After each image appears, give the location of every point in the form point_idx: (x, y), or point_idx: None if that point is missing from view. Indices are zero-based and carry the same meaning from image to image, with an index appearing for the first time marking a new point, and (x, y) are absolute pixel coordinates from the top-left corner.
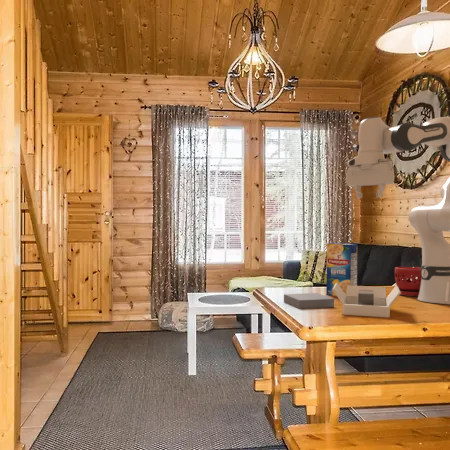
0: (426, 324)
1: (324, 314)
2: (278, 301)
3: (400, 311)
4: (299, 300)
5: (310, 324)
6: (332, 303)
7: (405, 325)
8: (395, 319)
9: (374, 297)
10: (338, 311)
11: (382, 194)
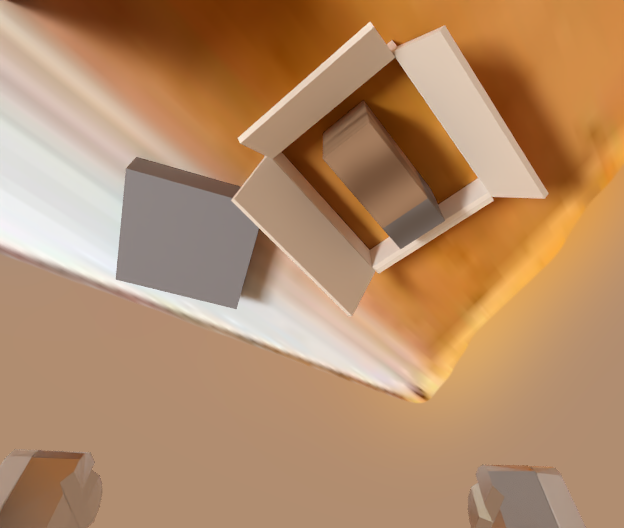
0: (612, 169)
1: None
2: (109, 271)
3: None
4: (236, 307)
5: (400, 378)
6: None
7: (568, 227)
8: None
9: (356, 89)
10: None
11: (574, 504)
